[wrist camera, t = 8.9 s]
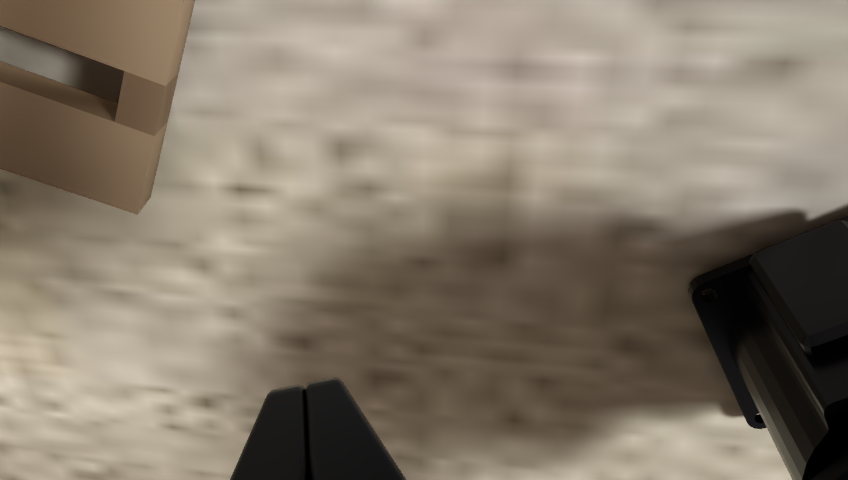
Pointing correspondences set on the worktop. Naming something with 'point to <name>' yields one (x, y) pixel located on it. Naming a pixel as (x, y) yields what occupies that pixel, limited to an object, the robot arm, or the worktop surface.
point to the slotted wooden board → (93, 96)
